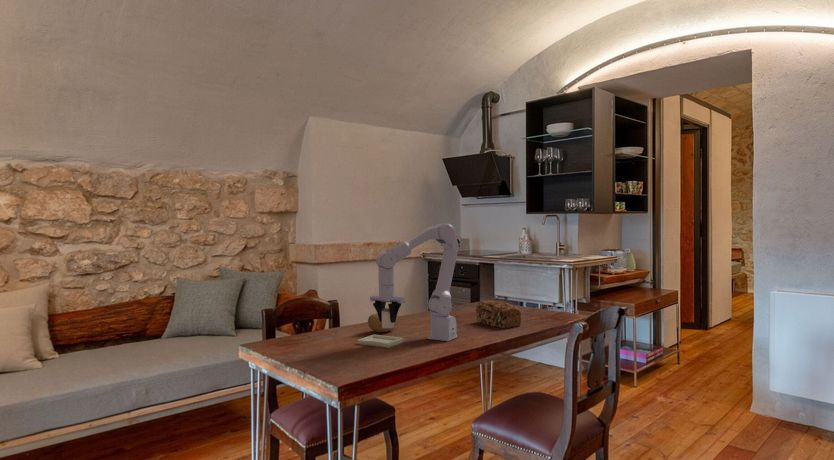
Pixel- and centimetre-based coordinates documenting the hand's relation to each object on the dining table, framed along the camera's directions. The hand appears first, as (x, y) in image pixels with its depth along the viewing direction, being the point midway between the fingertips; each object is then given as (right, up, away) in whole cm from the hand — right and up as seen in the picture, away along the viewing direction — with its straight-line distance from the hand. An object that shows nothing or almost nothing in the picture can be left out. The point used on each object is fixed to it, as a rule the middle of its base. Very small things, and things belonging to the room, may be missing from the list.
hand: (387, 321), depth 184 cm
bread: (+46, -7, +31) cm, 56 cm away
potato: (-3, -8, +22) cm, 24 cm away
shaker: (0, -2, 0) cm, 2 cm away
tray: (-3, -8, +2) cm, 9 cm away
